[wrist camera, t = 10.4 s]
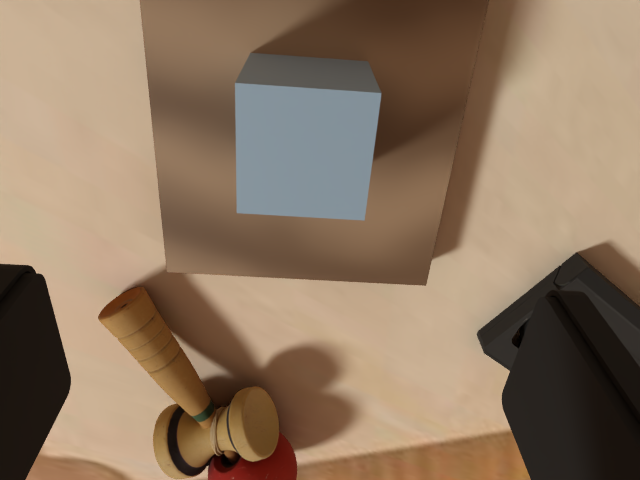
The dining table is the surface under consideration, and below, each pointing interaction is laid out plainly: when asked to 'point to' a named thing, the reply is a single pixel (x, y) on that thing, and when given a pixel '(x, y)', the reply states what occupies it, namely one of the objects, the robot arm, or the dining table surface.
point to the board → (390, 143)
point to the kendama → (199, 406)
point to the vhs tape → (573, 275)
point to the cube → (305, 136)
